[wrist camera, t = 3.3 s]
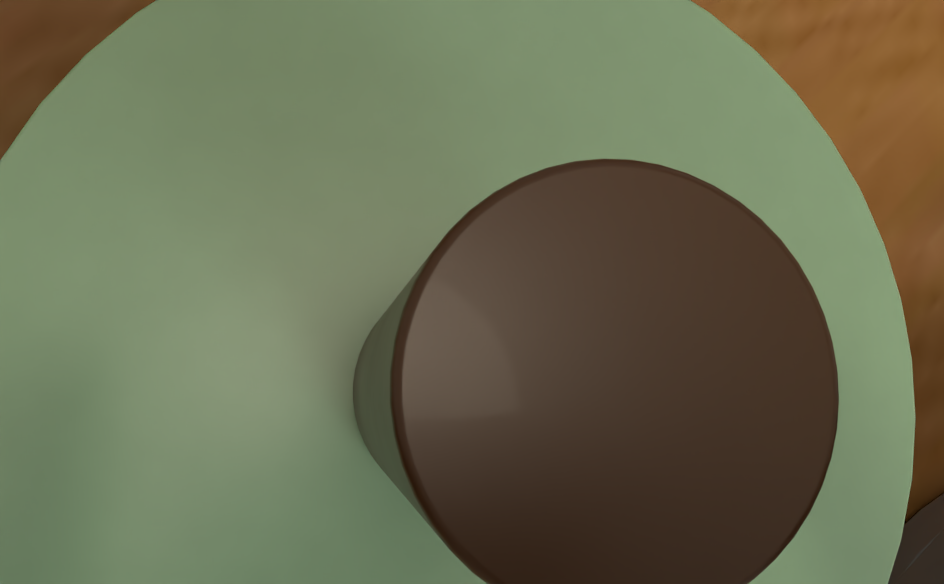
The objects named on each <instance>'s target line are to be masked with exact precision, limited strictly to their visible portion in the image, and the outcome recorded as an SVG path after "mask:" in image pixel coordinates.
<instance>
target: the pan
mask: <svg viewBox="0 0 944 584" xmlns="http://www.w3.org/2000/svg"><path fill="white" fill-rule="evenodd" d="M888 584H944V493H943V494H942V495H941V496H939V497H938V498H936V499H935V500H934V501H932V502H931V503H929V504H928V505H927V506H925V507H924V508H922V509H921V510H919V511H918V512H917V513H916V514H915V515H914V516H913V517H912V518H911V519H910V520H909V521H908V522H907V523H906V524H905V525H904V527H903V533H902V538H901V542H900V545H899V549H898V552H897V555H896V558H895V562H894V565H893V568H892V572H891V575H890V578H889V581H888Z"/></svg>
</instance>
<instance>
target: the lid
mask: <svg viewBox="0 0 944 584" xmlns="http://www.w3.org/2000/svg"><path fill="white" fill-rule="evenodd" d="M914 436H915V403H914V386H913V370H912V357H911V351H910V346H909V340H908V335H907V329H906V324H905V318H904V312H903V307H902V301H901V298H900V294H899V291H898V288H897V285H896V281H895V278H894V275H893V271H892V268H891V265H890V261H889V258H888V255H887V252H886V248H885V245H884V242H883V240H882V238H881V235H880V233H879V231H878V229H877V226H876V224H875V222H874V219H873V217H872V215H871V213H870V210H869V208H868V206H867V203H866V201H865V199H864V196H863V194H862V192H861V190H860V188H859V186H858V185H857V183H856V181H855V179H854V178H853V176H852V174H851V173H850V171H849V169H848V167H847V166H846V164H845V162H844V161H843V159H842V157H841V155H840V154H839V152H838V150H837V149H836V147H835V145H834V143H833V142H832V140H831V139H830V137H829V136H828V135H827V133H826V132H825V131H824V129H823V128H822V127H821V125H820V124H819V123H818V121H817V120H816V119H815V117H814V116H813V115H812V113H811V112H810V111H809V109H808V108H807V107H806V105H805V104H804V103H803V101H802V100H801V99H800V97H799V96H798V95H797V93H796V92H795V91H794V90H793V89H792V88H791V87H790V86H789V85H788V84H787V83H786V82H785V81H784V80H783V79H782V78H781V77H780V75H779V74H778V73H777V72H776V71H775V70H774V69H773V68H772V67H771V66H770V65H769V64H768V63H767V62H766V61H765V60H764V59H763V58H762V57H761V56H760V55H759V53H758V52H757V51H756V50H754V49H753V48H752V47H751V46H750V45H748V44H747V43H746V42H745V41H743V40H742V39H741V38H740V37H739V36H737V35H736V34H735V33H734V32H733V31H731V30H730V29H729V28H728V27H726V26H725V25H724V24H723V23H722V22H720V21H719V20H718V19H717V18H716V17H714V16H713V15H712V14H711V13H709V12H708V11H706V10H705V9H703V8H701V7H700V6H698V5H697V4H695V3H694V2H692V1H690V0H156V1H155V2H153V3H151V4H150V5H148V6H147V7H145V8H143V9H142V10H140V11H139V12H137V13H136V14H134V15H133V16H132V17H131V18H130V19H128V20H127V21H126V22H125V23H124V24H122V25H121V26H120V27H119V28H117V29H116V30H115V31H114V32H113V33H111V34H110V35H109V36H108V37H107V38H105V39H104V40H103V41H102V42H100V43H99V44H98V45H97V46H96V47H94V48H93V49H92V50H91V51H90V52H88V53H87V54H86V55H85V56H84V57H83V58H82V59H81V60H80V61H79V62H78V64H77V65H76V66H75V67H74V68H73V69H72V70H71V71H70V72H69V73H68V74H67V75H66V76H65V78H64V79H63V80H62V81H61V82H60V83H59V84H58V85H57V86H56V87H55V88H54V89H53V90H52V92H51V93H50V94H49V95H48V96H47V97H46V98H45V99H44V100H43V101H42V102H41V103H40V105H39V106H38V107H37V109H36V110H35V112H34V113H33V115H32V116H31V117H30V119H29V120H28V122H27V123H26V124H25V126H24V127H23V129H22V130H21V132H20V133H19V134H18V136H17V137H16V139H15V140H14V142H13V143H12V144H11V146H10V147H9V149H8V150H7V151H6V153H5V154H4V156H3V157H2V159H1V160H0V584H888V581H889V578H890V575H891V572H892V568H893V565H894V562H895V558H896V555H897V552H898V549H899V545H900V542H901V538H902V533H903V527H904V522H905V516H906V510H907V505H908V499H909V493H910V488H911V482H912V471H913V454H914Z"/></svg>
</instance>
